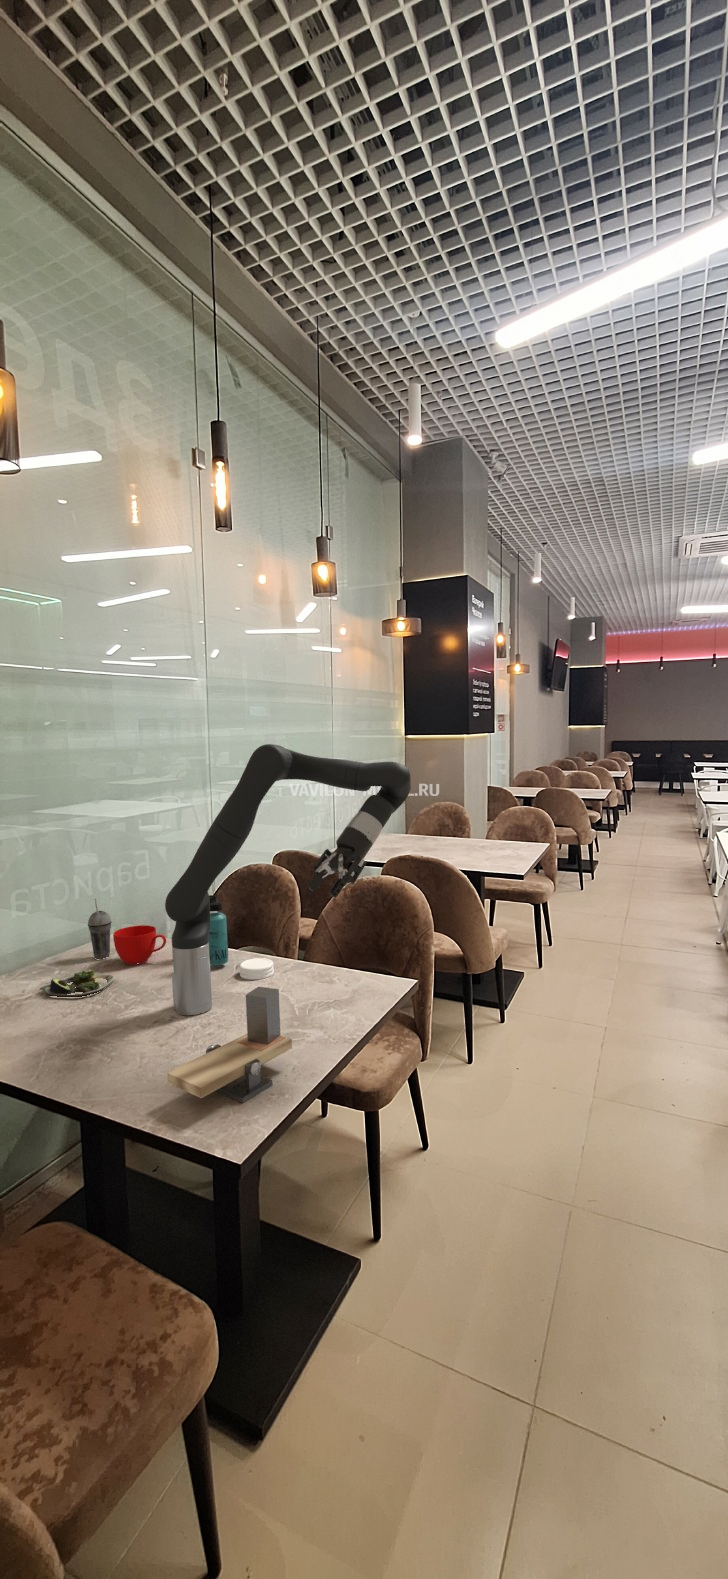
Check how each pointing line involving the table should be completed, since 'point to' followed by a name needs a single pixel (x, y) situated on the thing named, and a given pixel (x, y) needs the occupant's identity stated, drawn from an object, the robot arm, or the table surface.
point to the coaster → (256, 968)
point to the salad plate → (77, 984)
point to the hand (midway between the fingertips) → (320, 892)
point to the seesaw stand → (245, 1082)
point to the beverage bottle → (218, 936)
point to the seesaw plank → (224, 1064)
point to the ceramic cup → (136, 943)
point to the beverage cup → (100, 933)
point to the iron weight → (263, 1015)
